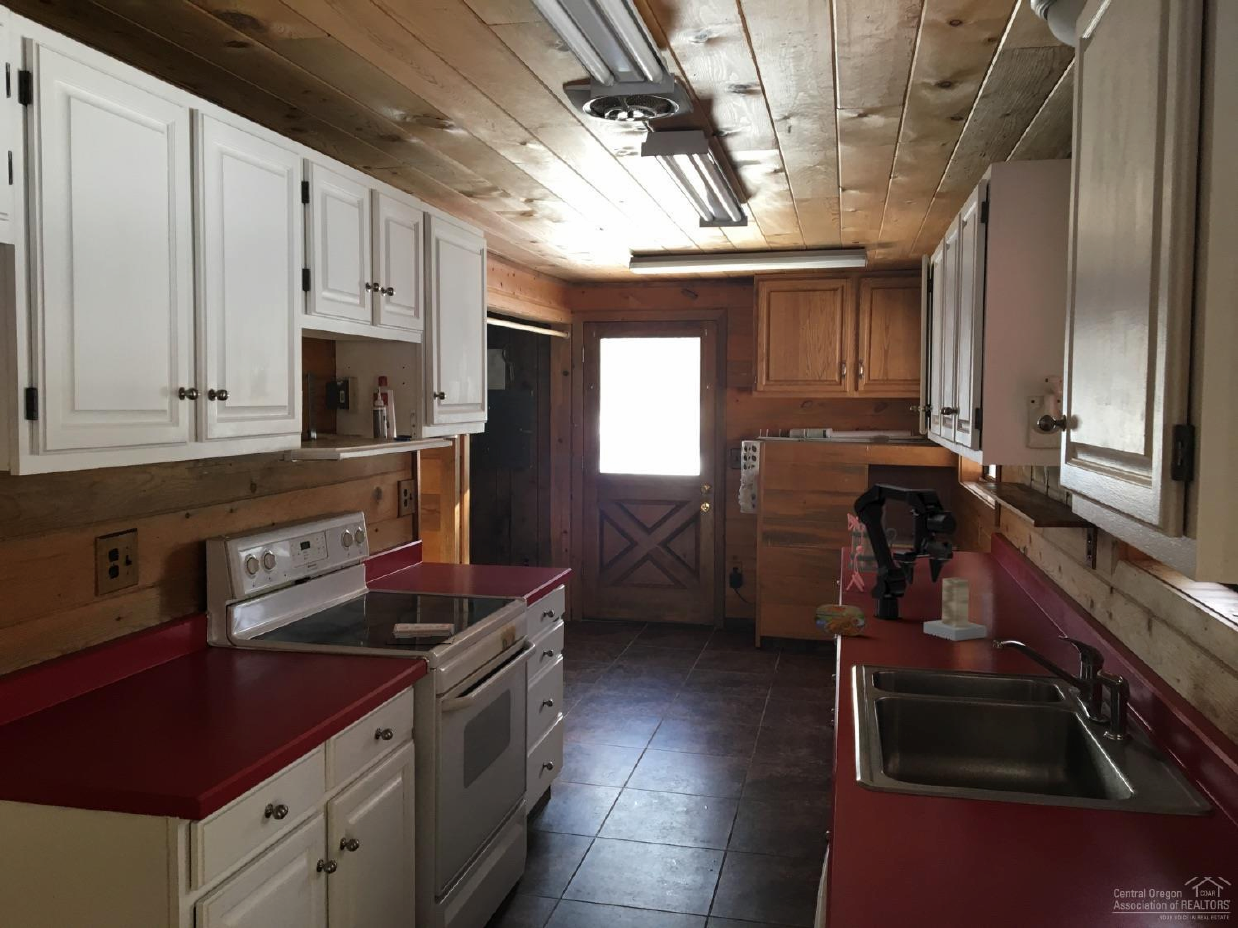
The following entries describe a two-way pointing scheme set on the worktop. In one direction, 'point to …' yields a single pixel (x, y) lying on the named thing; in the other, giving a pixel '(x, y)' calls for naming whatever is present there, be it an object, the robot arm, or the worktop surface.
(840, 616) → the tin
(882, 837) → the worktop surface
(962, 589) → the birch block
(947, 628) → the plinth
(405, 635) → the packaged product
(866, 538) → the tankard
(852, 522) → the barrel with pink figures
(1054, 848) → the worktop surface
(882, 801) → the worktop surface
